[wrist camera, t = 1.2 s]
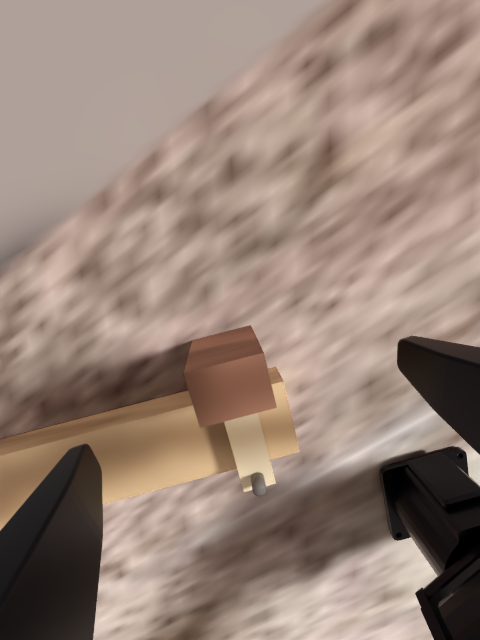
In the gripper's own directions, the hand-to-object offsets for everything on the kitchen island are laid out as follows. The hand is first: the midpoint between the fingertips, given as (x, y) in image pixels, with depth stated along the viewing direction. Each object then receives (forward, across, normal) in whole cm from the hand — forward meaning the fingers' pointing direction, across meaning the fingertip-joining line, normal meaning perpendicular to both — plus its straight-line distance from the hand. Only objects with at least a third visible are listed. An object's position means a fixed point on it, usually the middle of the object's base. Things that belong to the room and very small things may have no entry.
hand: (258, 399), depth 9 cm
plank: (+12, +6, +10) cm, 16 cm away
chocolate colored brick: (+11, -1, +8) cm, 14 cm away
